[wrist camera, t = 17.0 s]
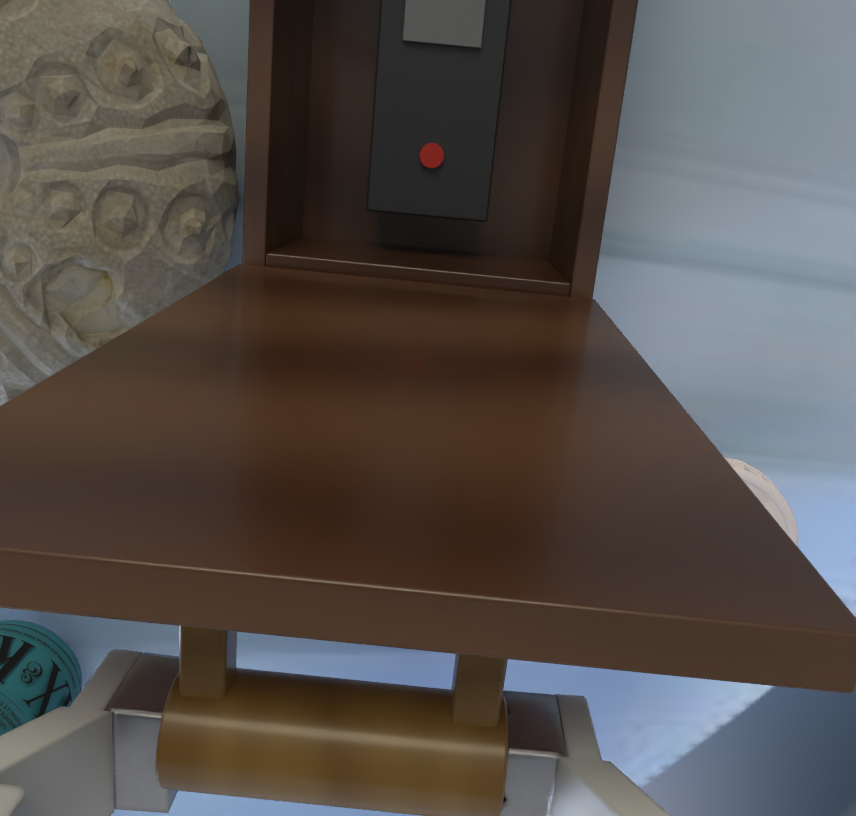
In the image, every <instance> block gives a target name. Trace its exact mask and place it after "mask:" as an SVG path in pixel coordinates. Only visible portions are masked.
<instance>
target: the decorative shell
mask: <svg viewBox="0 0 856 816" xmlns="http://www.w3.org/2000/svg"><path fill="white" fill-rule="evenodd" d="M238 202H239V195H238V184H237V176H236V146H235V138H234V132H233V127H232V122H231V117H230V112H229V107H228V103H227V101H226V99H225V96H224V94H223V92H222V89H221V87H220V84H219V81H218V78H217V75H216V72H215V69H214V66H213V64H212V63H211V61H210V59H209V58H208V56H207V54H206V53H205V50H204V47H203V45H202V42H201V40H200V39H199V37H198V36H197V35H196V33H195V32H194V31H193V29H192V28H190V27H189V26H188V25H187V24H186V23H185V22H184V21H182V20H181V19H180V18H179V17H178V16H177V15H176V13H175V12H174V10H173V9H172V8H171V6H170V5H169V4H168V2H167V1H166V0H0V406H1V405H2V404H4V403H6V402H7V401H9V400H11V399H13V398H14V397H16V396H18V395H19V394H21V393H23V392H24V391H26V390H28V389H29V388H31V387H33V386H34V385H36V384H38V383H40V382H41V381H43V380H45V379H46V378H48V377H50V376H51V375H53V374H55V373H56V372H58V371H60V370H61V369H63V368H65V367H67V366H68V365H70V364H72V363H73V362H75V361H77V360H78V359H80V358H82V357H83V356H85V355H87V354H88V353H90V352H92V351H94V350H95V349H97V348H99V347H100V346H102V345H104V344H105V343H107V342H109V341H110V340H112V339H114V338H115V337H117V336H119V335H121V334H122V333H124V332H126V331H127V330H129V329H131V328H132V327H134V326H136V325H137V324H139V323H141V322H142V321H144V320H146V319H148V318H149V317H151V316H153V315H154V314H156V313H158V312H159V311H161V310H163V309H164V308H166V307H168V306H169V305H171V304H173V303H174V302H176V301H178V300H180V299H181V298H183V297H185V296H186V295H188V294H190V293H191V292H193V291H195V290H196V289H198V288H200V287H201V286H203V285H205V284H207V283H208V282H210V281H212V280H213V279H215V278H217V277H218V276H220V275H222V274H223V273H224V270H225V268H226V266H227V263H228V261H229V259H230V257H231V255H232V234H233V229H234V224H235V218H236V212H237V206H238Z"/></svg>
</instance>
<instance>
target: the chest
mask: <svg viewBox="0 0 856 816" xmlns="http://www.w3.org/2000/svg"><path fill="white" fill-rule="evenodd" d="M380 4H381V0H250V12H249V47H248V82H247V118H246V153H245V188H244V224H243V259H242V264H243V265H253V266H263V267H273V268H283V269H293V270H303V271H313V272H323V273H333V274H343V275H353V276H363V277H374V278H384V279H394V280H404V281H414V282H424V283H434V284H444V285H454V286H464V287H474V288H484V289H494V290H504V291H514V292H524V293H534V294H544V295H554V296H565V297H575V298H585V299H592V298H593V291H594V285H595V278H596V272H597V265H598V259H599V252H600V246H601V239H602V233H603V226H604V220H605V213H606V207H607V200H608V194H609V187H610V181H611V174H612V168H613V161H614V155H615V148H616V142H617V135H618V129H619V122H620V116H621V109H622V103H623V96H624V90H625V83H626V77H627V70H628V64H629V57H630V51H631V44H632V38H633V31H634V25H635V18H636V12H637V5H638V0H511V9H510V18H509V28H508V37H507V46H506V55H505V64H504V73H503V82H502V91H501V100H500V109H499V118H498V127H497V136H496V145H495V154H494V163H493V172H492V181H491V190H490V199H489V208H488V217H487V221H486V222H480V221H469V220H459V219H448V218H438V217H428V216H417V215H407V214H397V213H386V212H376V211H368V210H367V194H368V179H369V164H370V150H371V135H372V120H373V106H374V91H375V77H376V62H377V47H378V33H379V18H380Z"/></svg>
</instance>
